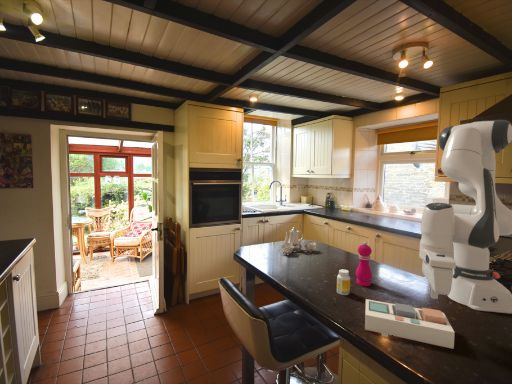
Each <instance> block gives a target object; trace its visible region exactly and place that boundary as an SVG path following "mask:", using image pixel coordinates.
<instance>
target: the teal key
mask: <svg viewBox="0 0 512 384" xmlns="http://www.w3.org/2000/svg"><path fill="white" fill-rule="evenodd" d="M370 311H374V312H380V313H385V314H387V308H386V305H381V304H376V303H370Z"/></svg>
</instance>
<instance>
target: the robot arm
mask: <svg viewBox="0 0 512 384" xmlns="http://www.w3.org/2000/svg"><path fill="white" fill-rule="evenodd" d="M511 142H512V123H511V122H510V121H509V120H508V119H507V120H506V119H495V120H481V121H473V122H470V123H469V122H468V123H463V124H458V125H450V126H447V127H445V128H443V129H442V130H441V131H440V133H439V135H438V146H439V148H440V150H442V151H443V153H442V156H441V161H440V168H441V172H442V173H443V174H444V176H446V177H447V178H448V179H450V180H452V181H454V182H456V183H458V190H459V191H460V192H461V194H464V195H465V196H467V197H470V198H472V199H473V200H474V201H475V205H471V204H458V203H457V204H456V203H450V204H449V203H446V202H431V203H427V204H426V205H425V206H424V208H423V211H422V215H421V221H420V232H421V238H420V241H419V254H418V255H419V257H418V258H420V259H421V260H422V266H421V267H422V268H421V271H422V273H423V276H424V277H425V279H426V280H427V282H428V288H429V289H428V290H429V291H428V293H429V296H430V297H431V299H433V300H435V299H436V300H438V298H439V295H443V296H447V297H448V298H449V300H452V301H455V302H456V303H459V304H460V305H461V304H462V305H464V306H467V307H468V308H470V309H473V310H474V311H475V310H476V311H479V312H480V311H483V312H492V313H493V312H494V313H503V314H510V315H511V314H512V293H511V291H510V290H509V289H507V287H506V286H504V285H503V284H502V283H500V282H499V281H497V279H500V278H501V275H500V274H499V273H498V272H497V271H494V270H493V269H491V268H490V255H491V254H490V250H489V248H490V247H492V246H494V245H496V244H497V243H498V241H499V238H500V236H510V235H512V210H511V209H510V208H509V207H507V206H506V205H505V204H503V202H502V201H501V200H500V199H499V196H498V195H497V191H496V171H497V169H496V168H497V167H496V166H497V163H496V161H497V160H496V154H499V153H500V152H501V151H502V150H503V149H504V150H505V149H506V148H507V147H508V146H509V145H510V144H511Z"/></svg>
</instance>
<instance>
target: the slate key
mask: <svg viewBox="0 0 512 384" xmlns="http://www.w3.org/2000/svg"><path fill="white" fill-rule="evenodd" d="M394 304H395V314H396V316H401V317H406V318H411V319H415V311H414V308H415V307H414V306H413V305H411V304H410V305H409V304H404V303H398V302H394Z"/></svg>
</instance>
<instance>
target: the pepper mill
mask: <svg viewBox="0 0 512 384" xmlns="http://www.w3.org/2000/svg"><path fill="white" fill-rule="evenodd" d="M357 252H358V253H357V254H358V259H359V263H358V267H357V268H356V270H355V277H356V284H357V285H359V286H362V287H369V286H372V285H371V284H372V278H373V273H372V272H373V271H372V269H371V268H370V260H371V255H372V252H373V251H372V248H371V246H370V245H368V243H367V242H366V241H363V242H362V244H360V245H359V246H358V248H357Z"/></svg>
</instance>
